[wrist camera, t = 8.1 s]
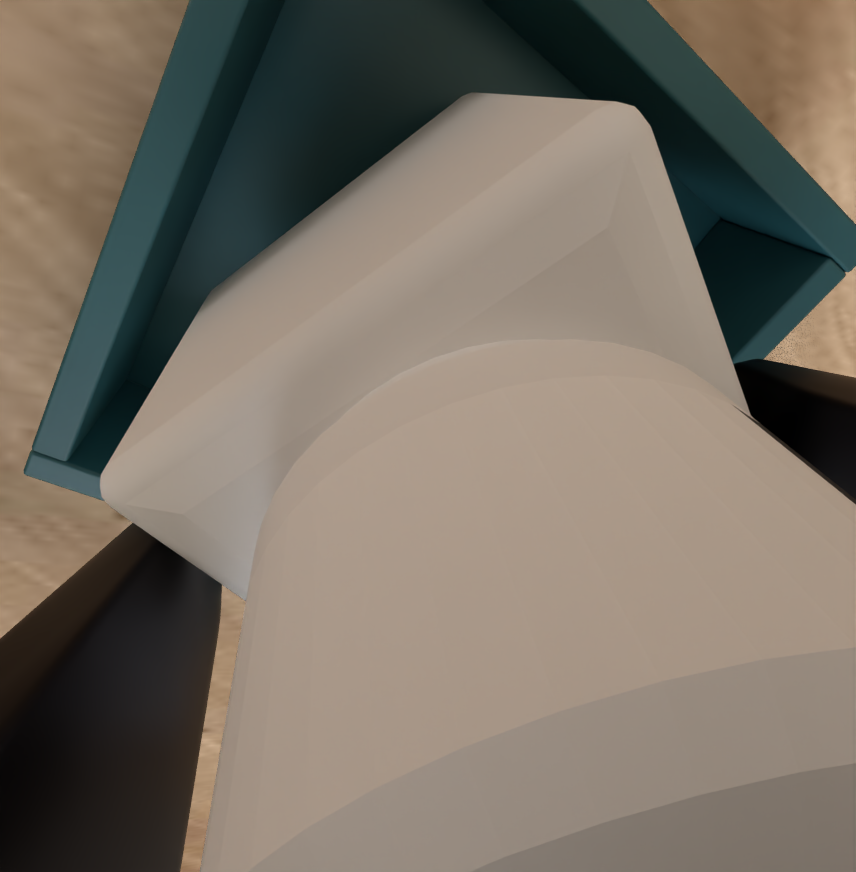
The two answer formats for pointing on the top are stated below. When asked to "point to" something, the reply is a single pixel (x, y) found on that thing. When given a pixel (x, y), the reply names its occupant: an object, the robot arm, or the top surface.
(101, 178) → the top surface
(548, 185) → the medicine bottle
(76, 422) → the desk bin
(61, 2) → the top surface
